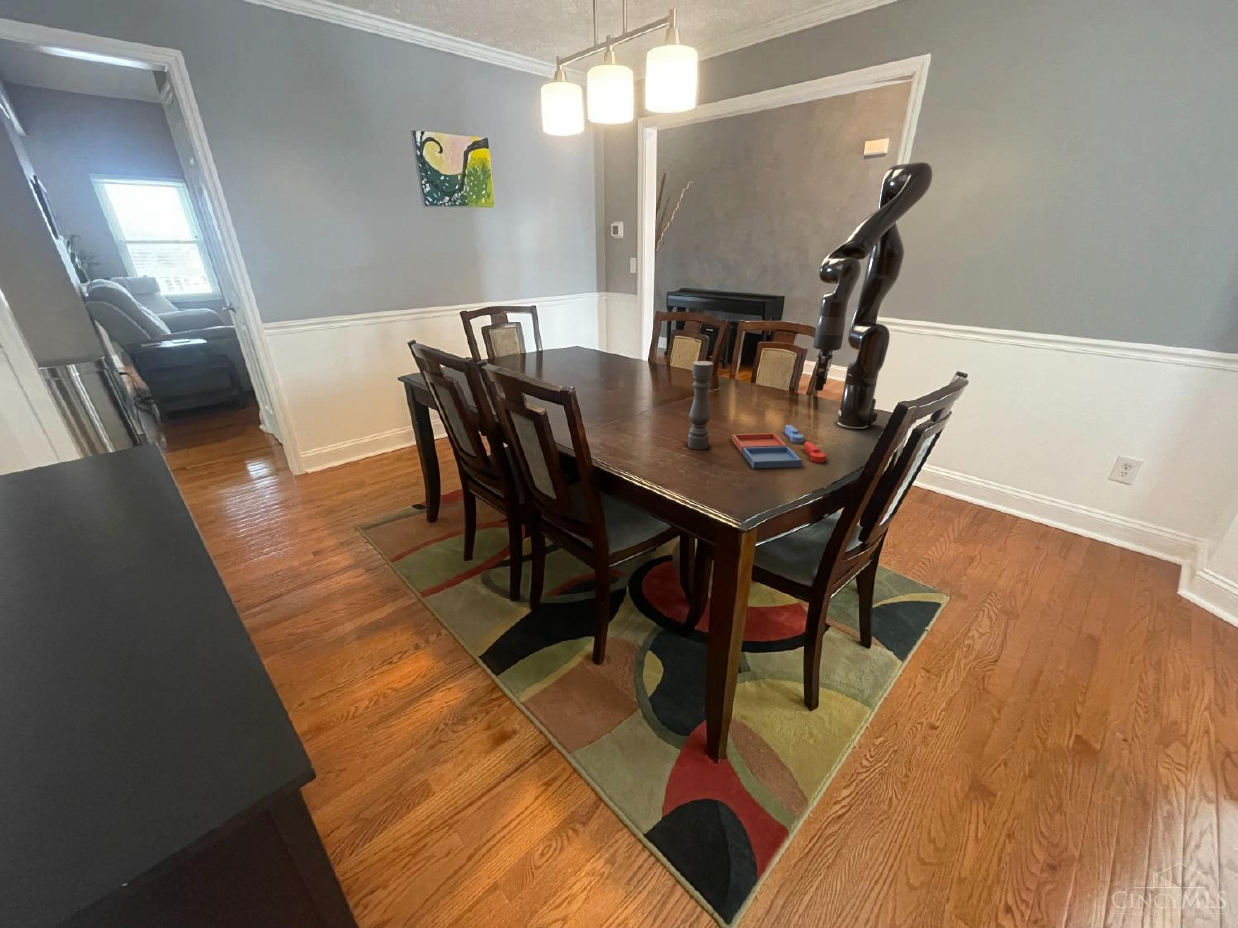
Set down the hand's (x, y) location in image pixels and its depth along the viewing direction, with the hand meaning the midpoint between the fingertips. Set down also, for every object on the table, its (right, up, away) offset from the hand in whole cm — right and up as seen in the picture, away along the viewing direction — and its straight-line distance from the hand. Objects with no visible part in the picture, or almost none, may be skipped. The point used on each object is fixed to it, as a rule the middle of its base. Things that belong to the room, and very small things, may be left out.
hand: (820, 387), depth 147 cm
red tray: (-19, -18, 0) cm, 26 cm away
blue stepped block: (-6, -15, +6) cm, 17 cm away
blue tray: (-18, -22, -10) cm, 30 cm away
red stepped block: (-5, -21, -8) cm, 23 cm away
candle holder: (-37, -18, +1) cm, 41 cm away
